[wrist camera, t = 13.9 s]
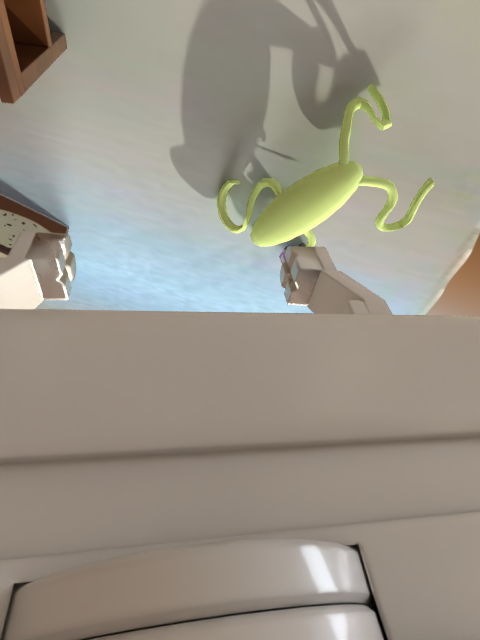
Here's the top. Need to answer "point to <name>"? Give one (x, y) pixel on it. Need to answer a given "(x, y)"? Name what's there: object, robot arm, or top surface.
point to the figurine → (320, 191)
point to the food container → (22, 223)
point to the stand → (25, 46)
